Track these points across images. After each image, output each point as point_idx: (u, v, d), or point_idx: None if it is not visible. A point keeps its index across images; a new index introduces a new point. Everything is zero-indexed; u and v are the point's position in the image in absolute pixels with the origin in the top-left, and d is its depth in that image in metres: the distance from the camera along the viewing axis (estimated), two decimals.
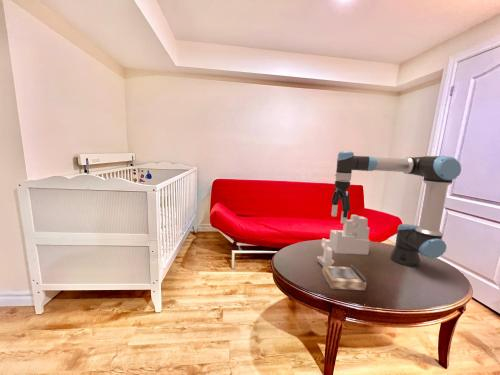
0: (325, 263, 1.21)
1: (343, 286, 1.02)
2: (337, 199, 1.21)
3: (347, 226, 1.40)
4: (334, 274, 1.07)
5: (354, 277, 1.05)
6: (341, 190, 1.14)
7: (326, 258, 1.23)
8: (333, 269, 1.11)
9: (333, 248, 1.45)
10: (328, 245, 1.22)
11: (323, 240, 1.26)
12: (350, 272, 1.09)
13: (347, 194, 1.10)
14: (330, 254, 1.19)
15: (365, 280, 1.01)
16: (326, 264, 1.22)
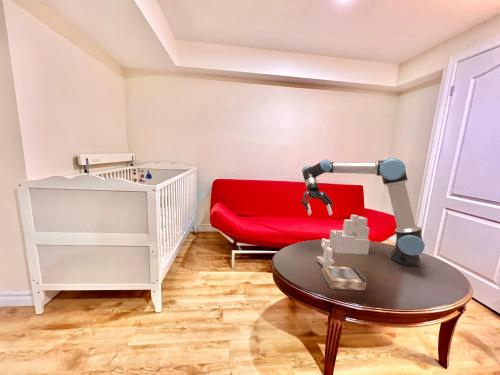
0: (325, 263, 1.21)
1: (343, 286, 1.02)
2: (322, 200, 1.38)
3: (347, 226, 1.40)
4: (334, 274, 1.07)
5: (354, 277, 1.05)
6: None
7: (326, 258, 1.23)
8: (333, 269, 1.11)
9: (333, 248, 1.45)
10: (328, 245, 1.22)
11: (323, 240, 1.26)
12: (350, 272, 1.09)
13: (304, 193, 1.39)
14: (330, 254, 1.19)
15: (365, 280, 1.01)
16: (326, 264, 1.22)
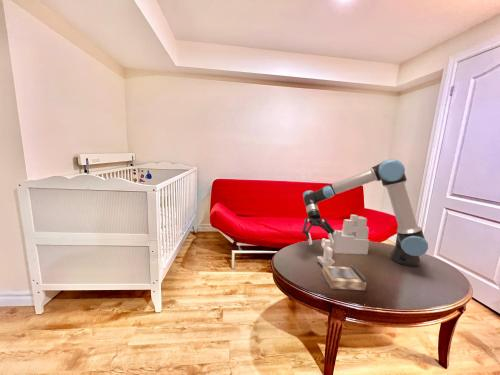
0: (325, 263, 1.21)
1: (343, 286, 1.02)
2: (324, 228, 1.34)
3: (346, 226, 1.41)
4: (334, 274, 1.07)
5: (354, 277, 1.05)
6: None
7: (326, 258, 1.23)
8: (333, 269, 1.11)
9: (332, 248, 1.45)
10: (328, 245, 1.22)
11: (323, 240, 1.26)
12: (350, 272, 1.09)
13: (305, 220, 1.35)
14: (330, 254, 1.19)
15: (365, 280, 1.01)
16: (326, 264, 1.22)
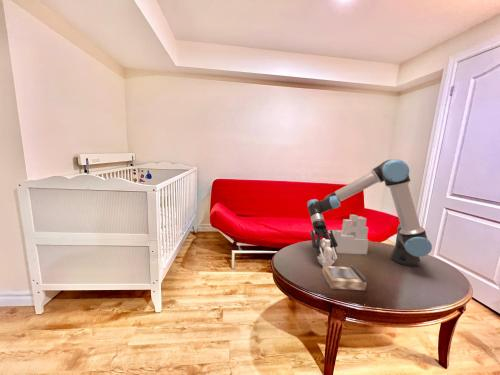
0: (325, 263, 1.21)
1: (343, 286, 1.02)
2: None
3: (346, 226, 1.41)
4: (334, 274, 1.07)
5: (354, 277, 1.05)
6: None
7: (326, 258, 1.23)
8: (333, 269, 1.11)
9: None
10: (328, 245, 1.22)
11: (323, 240, 1.26)
12: (350, 272, 1.09)
13: (311, 233, 1.29)
14: (330, 254, 1.19)
15: (365, 280, 1.01)
16: (326, 264, 1.22)
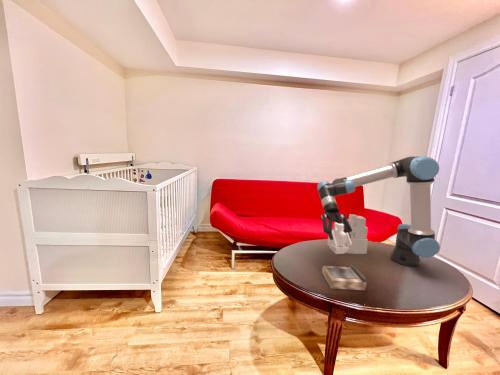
0: (338, 250, 1.08)
1: (343, 286, 1.02)
2: None
3: None
4: (334, 274, 1.07)
5: (354, 277, 1.05)
6: None
7: (339, 244, 1.10)
8: (333, 269, 1.11)
9: None
10: (341, 230, 1.09)
11: (336, 224, 1.13)
12: (350, 272, 1.09)
13: (322, 217, 1.15)
14: (344, 239, 1.06)
15: (365, 280, 1.01)
16: (339, 251, 1.08)
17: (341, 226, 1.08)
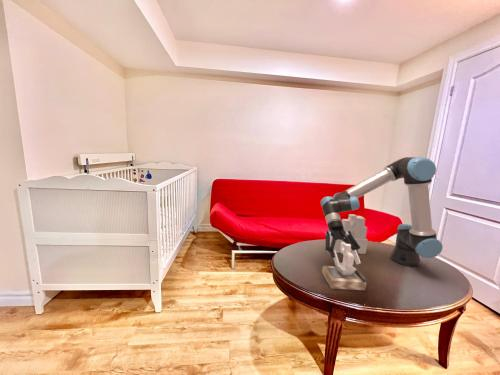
0: (345, 271, 1.05)
1: (343, 286, 1.02)
2: (347, 242, 1.11)
3: (345, 226, 1.41)
4: (334, 274, 1.07)
5: (354, 277, 1.05)
6: None
7: (346, 265, 1.07)
8: (333, 269, 1.11)
9: None
10: (348, 250, 1.06)
11: (342, 244, 1.10)
12: None
13: (326, 234, 1.12)
14: (351, 261, 1.03)
15: (365, 280, 1.01)
16: (346, 272, 1.05)
17: (348, 247, 1.05)
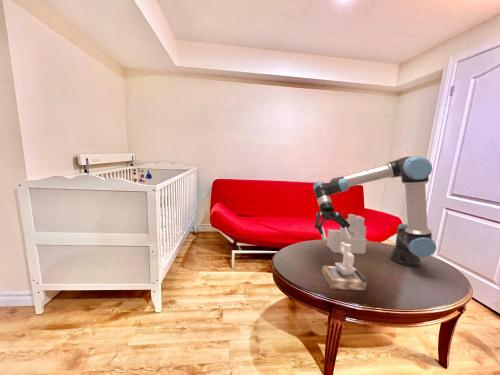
0: (345, 271, 1.05)
1: (343, 286, 1.02)
2: (338, 222, 1.20)
3: None
4: (334, 274, 1.07)
5: (354, 277, 1.05)
6: None
7: (346, 265, 1.07)
8: (333, 269, 1.11)
9: (330, 247, 1.46)
10: (349, 250, 1.06)
11: (342, 244, 1.10)
12: None
13: (317, 214, 1.21)
14: (351, 261, 1.03)
15: (365, 280, 1.01)
16: (346, 272, 1.05)
17: (348, 247, 1.05)
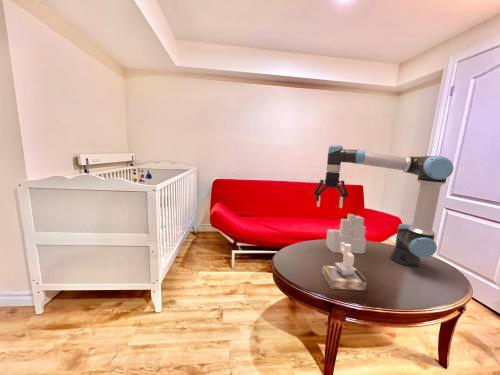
0: (345, 271, 1.05)
1: (343, 286, 1.02)
2: (338, 190, 1.30)
3: (344, 225, 1.42)
4: (334, 274, 1.07)
5: (354, 277, 1.05)
6: None
7: (346, 265, 1.07)
8: (333, 269, 1.11)
9: (330, 247, 1.46)
10: (349, 250, 1.06)
11: (342, 244, 1.10)
12: None
13: (320, 181, 1.29)
14: (351, 261, 1.03)
15: (365, 280, 1.01)
16: (346, 272, 1.05)
17: (348, 247, 1.05)
